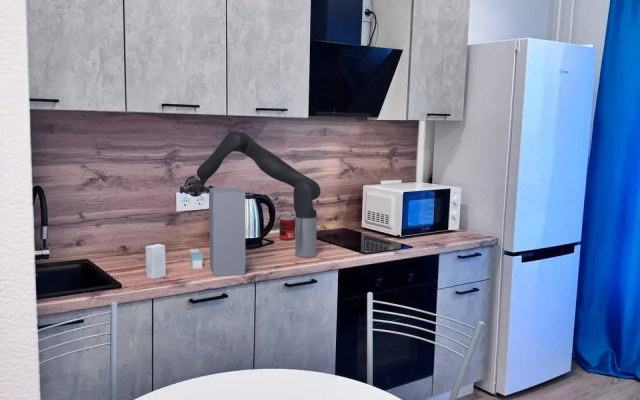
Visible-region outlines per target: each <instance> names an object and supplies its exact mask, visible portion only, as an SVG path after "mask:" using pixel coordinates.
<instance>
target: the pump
mask: <svg viewBox="0 0 640 400" xmlns="http://www.w3.org/2000/svg"><path fill="white" fill-rule="evenodd" d="M189 257H190V267H191V269H203V268H204V255H203V251H199V249H198V248H190V249H189Z"/></svg>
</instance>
